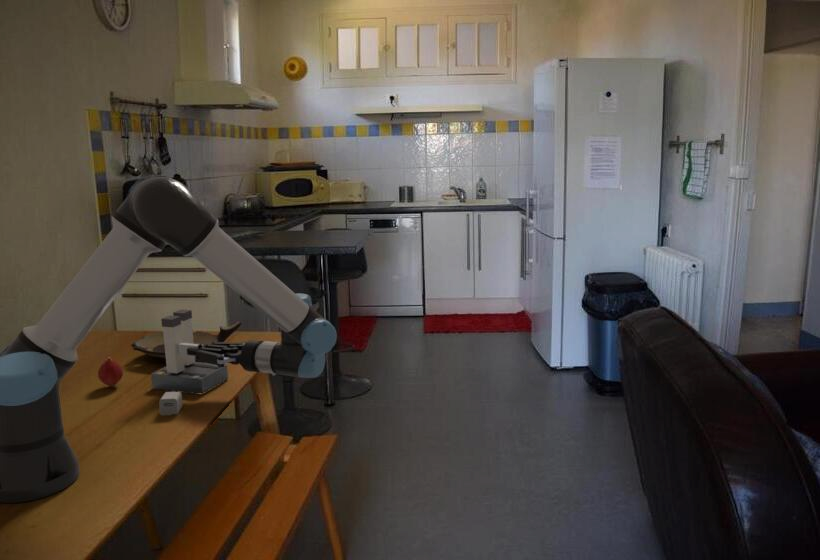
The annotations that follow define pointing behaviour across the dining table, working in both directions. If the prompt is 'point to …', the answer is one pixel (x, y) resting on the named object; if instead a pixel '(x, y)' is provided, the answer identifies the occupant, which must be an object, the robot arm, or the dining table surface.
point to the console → (190, 378)
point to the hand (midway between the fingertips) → (179, 348)
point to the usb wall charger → (170, 403)
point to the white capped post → (186, 331)
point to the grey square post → (172, 343)
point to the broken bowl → (156, 346)
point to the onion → (110, 372)
